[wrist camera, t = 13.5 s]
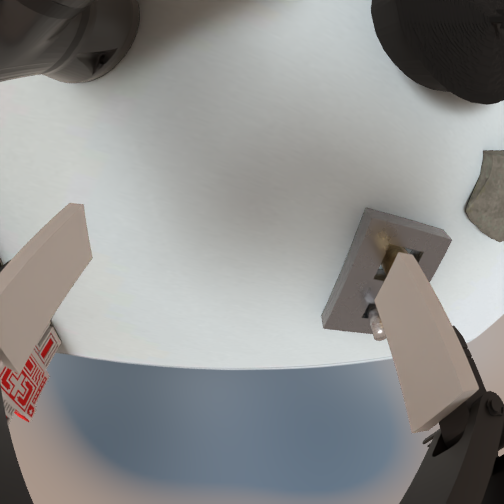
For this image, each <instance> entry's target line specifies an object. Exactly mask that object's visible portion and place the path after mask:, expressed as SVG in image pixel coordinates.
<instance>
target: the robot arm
mask: <svg viewBox="0 0 504 504" xmlns="http://www.w3.org/2000/svg"><path fill="white" fill-rule="evenodd" d="M138 25H139V6H138V2H137V0H0V82H2V81H6V80H11V79H16V78H21V77H27V76H33V75H39V74H42V75H45V76H48V77H50V78H53V79H55V80H58V81H60V82H64V83H79V82H87V81H91V80H94V79H96V78H99V77H101V76H103V75H104V74H106V73H107V72H109V71H110V70H111V69H112V68H113V67H115V66H116V65H117V64H118V63H119V62H120V60H121V59H122V58H123V57H124V56H125V54H126V53H127V51H128V50H129V48H130V46H131V44H132V42H133V40H134V38H135V35H136V33H137V29H138ZM92 258H93V257H92V252H91V247H90V242H89V236H88V231H87V225H86V218H85V211H84V205H83V204H75V203H69V204H68V205H67V206H66V207H65V208H63V209H62V210H61V211H60V212H59V213H58V214H57V215H56V216H55V217H53V218H52V219H51V220H50V221H49V222H48V223H47V224H46V225H45V226H44V227H43V228H42V229H41V230H40V231H39V232H38V233H37V234H36V235H35V236H34V237H33V238H32V239H31V240H30V241H29V242H28V243H27V244H26V245H25V246H24V247H23V248H22V249H21V250H20V251H19V252H18V253H17V254H16V255H15V257H14V258H13V259H12V260H10V261H9V262H7V263H6V264H4V265H3V266H1V267H0V360H1V361H2V363H3V364H4V365H5V366H6V367H7V368H9V369H11V370H13V371H14V372H16V373H18V374H20V373H21V371H22V369H23V367H24V366H25V364H26V362H27V360H28V358H29V356H30V354H31V353H32V351H33V349H34V347H35V345H36V344H37V342H38V340H39V338H40V337H41V335H42V333H43V332H44V330H45V328H46V327H47V325H48V323H49V322H50V320H51V318H52V317H53V315H54V314H55V312H56V311H57V309H58V307H59V306H60V304H61V303H62V301H63V300H64V298H65V297H66V295H67V294H68V292H69V291H70V289H71V288H72V286H73V285H74V283H75V282H76V281H77V279H78V278H79V276H80V275H81V273H82V272H83V271H84V269H85V268H86V266H87V265H88V264H89V262H90V261H91V260H92ZM374 301H375V304H376V307H377V310H378V313H379V316H380V319H381V322H382V325H383V328H384V331H385V334H386V337H387V340H388V344H389V347H390V350H391V353H392V357H393V360H394V364H395V367H396V371H397V374H398V378H399V382H400V385H401V389H402V393H403V397H404V401H405V405H406V409H407V414H408V418H409V423H410V427H411V432H412V433H416V432H421V431H427V430H429V429H431V428H432V427H433V426H435V425H436V424H437V423H439V425H440V429H439V430H437V431H436V432H435V433H433V434H432V435H430V436H429V437H427V438H426V439H425V440H424V441H423V444H425V443H427V442H429V441H430V440H432V439H433V440H432V442H431V443H430V444H429V445H428V447H429V449H428V451H427V453H426V455H425V457H424V459H423V461H422V463H421V466H420V468H419V470H418V472H417V473H416V475H415V477H414V479H413V481H412V483H411V485H410V487H409V488H408V490H407V492H406V493H405V495H404V497H403V499H402V500H401V502H400V504H504V454H503V455H502V456H500V457H499V456H498V451H499V450H500V449H502V448H504V404H503V402H502V400H501V399H500V397H499V396H498V395H497V394H496V393H494V392H491V391H488V392H486V389H485V387H484V385H483V382H482V379H481V377H480V375H479V372H478V370H477V367H476V365H475V362H474V360H473V358H471V353H470V351H469V350H468V349H467V344H466V342H465V340H464V338H463V336H462V335H461V334H460V332H459V331H458V330H457V329H456V328H455V326H452V325H451V323H450V321H449V319H448V317H447V315H446V313H445V311H444V309H443V307H442V305H441V303H440V301H439V299H438V297H437V296H436V294H435V292H434V290H433V288H432V287H431V285H430V283H429V281H428V279H427V278H426V276H425V274H424V273H423V271H422V269H421V267H420V266H419V264H418V262H417V261H416V259H415V258H414V256H413V255H412V254H406V253H401V252H398V254H397V256H396V258H395V261H394V263H393V265H392V267H391V269H390V271H389V273H388V275H387V277H386V279H385V281H384V283H383V285H382V287H381V289H380V291H379V292H378V294H377V296H376V298H375V300H374ZM0 504H33V501H32V499H31V497H30V494H29V492H28V489H27V487H26V484H25V481H24V479H23V476H22V473H21V470H20V467H19V464H18V461H17V458H16V454H15V451H14V447H13V444H12V440H11V436H10V432H9V428H8V423H7V419H6V414H5V408H4V403H3V397H2V391H1V384H0Z"/></svg>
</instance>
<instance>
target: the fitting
mask: <svg viewBox="0 0 504 504" xmlns="http://www.w3.org/2000/svg"><path fill="white" fill-rule="evenodd" d="M398 252H401V253H406V254H408V252H407V251H406V249H405V247H401V246H396V245H392V244H390V245H389V247H388V249H387V251H386V254H385V256H384V258H383V260H382V262H381V265H382V267H383V269H384V272H385V274H386V276H387V275H388V273H389V271H390V269H391V267H392V265H393V263H394V261H395V258H396V256H397V254H398Z"/></svg>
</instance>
